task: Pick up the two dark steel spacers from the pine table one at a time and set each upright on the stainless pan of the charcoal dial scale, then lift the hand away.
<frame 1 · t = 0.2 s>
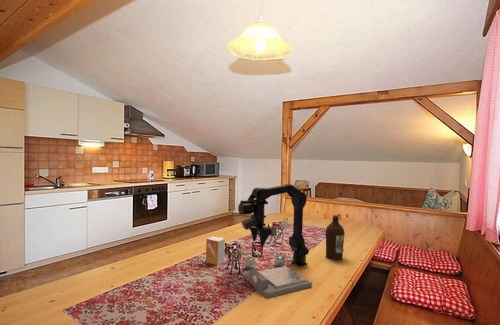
hand: (257, 243, 136), 14 cm above the table, fingers open, 9 cm apart
small box: (214, 262, 147), on the table
steel spacer 2: (249, 267, 141), on the table
kitchen scale: (277, 282, 125), on the table
olive oil: (334, 258, 160), on the table
steel spacer 1: (279, 265, 145), on the table
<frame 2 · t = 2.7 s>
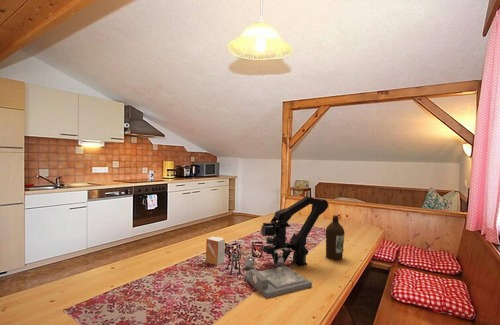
hand: (279, 263, 145), 1 cm above the table, fingers closed on steel spacer 1, 5 cm apart
steel spacer 1: (279, 265, 145), on the table, touching gripper
everything else where it was.
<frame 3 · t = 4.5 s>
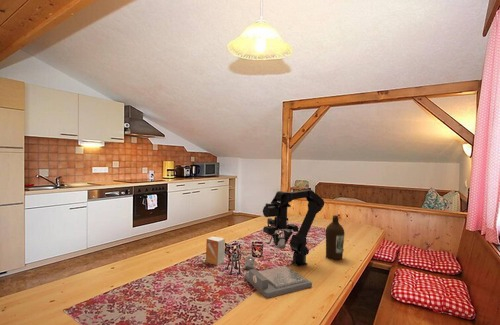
hand: (280, 245, 142), 12 cm above the table, fingers closed on steel spacer 1, 5 cm apart
steel spacer 1: (280, 247, 142), point 11 cm above the table, touching gripper
everything else where it was.
when the fingers open (5 cm above the table, at t = 6.6 s): steel spacer 1 drops 1 cm, resting on kitchen scale.
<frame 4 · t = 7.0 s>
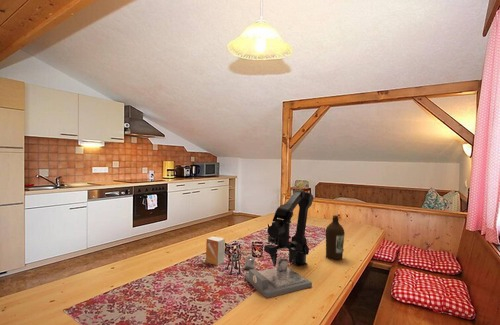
hand: (282, 264, 133), 5 cm above the table, fingers open, 9 cm apart
steel spacer 1: (282, 269, 133), point 3 cm above the table, touching kitchen scale
everything else where it was.
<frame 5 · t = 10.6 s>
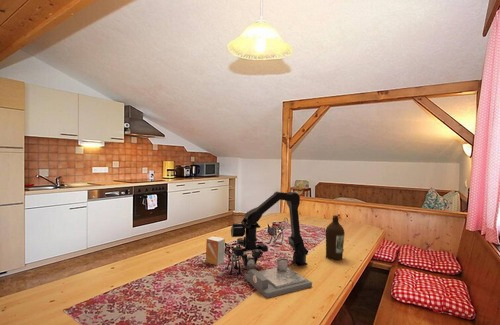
hand: (249, 265, 141), 1 cm above the table, fingers closed on steel spacer 2, 5 cm apart
steel spacer 2: (249, 267, 141), on the table, touching gripper
everything else where it was.
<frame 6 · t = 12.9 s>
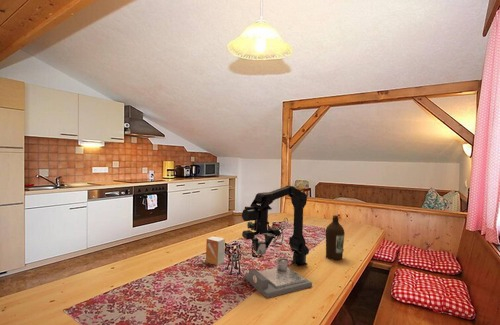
hand: (260, 250, 133), 12 cm above the table, fingers closed on steel spacer 2, 5 cm apart
steel spacer 2: (260, 252, 133), point 11 cm above the table, touching gripper
everything else where it was.
when the fingers open (5 cm above the table, at t = 15.4 s): steel spacer 2 drops 1 cm, resting on kitchen scale.
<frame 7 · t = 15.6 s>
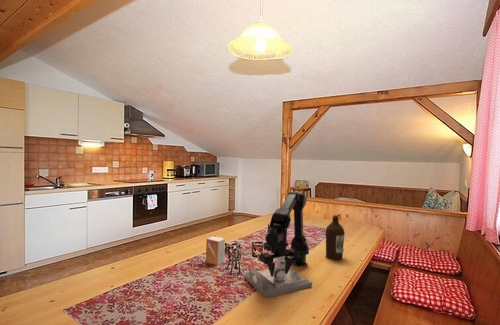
hand: (279, 274, 121), 5 cm above the table, fingers open, 7 cm apart
steel spacer 2: (278, 280, 121), point 3 cm above the table, touching kitchen scale
everything else where it was.
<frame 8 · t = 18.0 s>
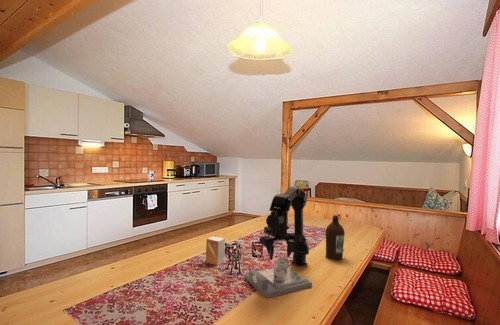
hand: (279, 258, 121), 13 cm above the table, fingers open, 9 cm apart
nothing on the table moved.
at the end: steel spacer 1 inside the target area on the kitchen scale (6.5 cm from its centre), point 3.0 cm above the kitchen scale's base; steel spacer 2 inside the target area on the kitchen scale (5.7 cm from its centre), point 3.0 cm above the kitchen scale's base; steel spacer 2 tilted 0° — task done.
